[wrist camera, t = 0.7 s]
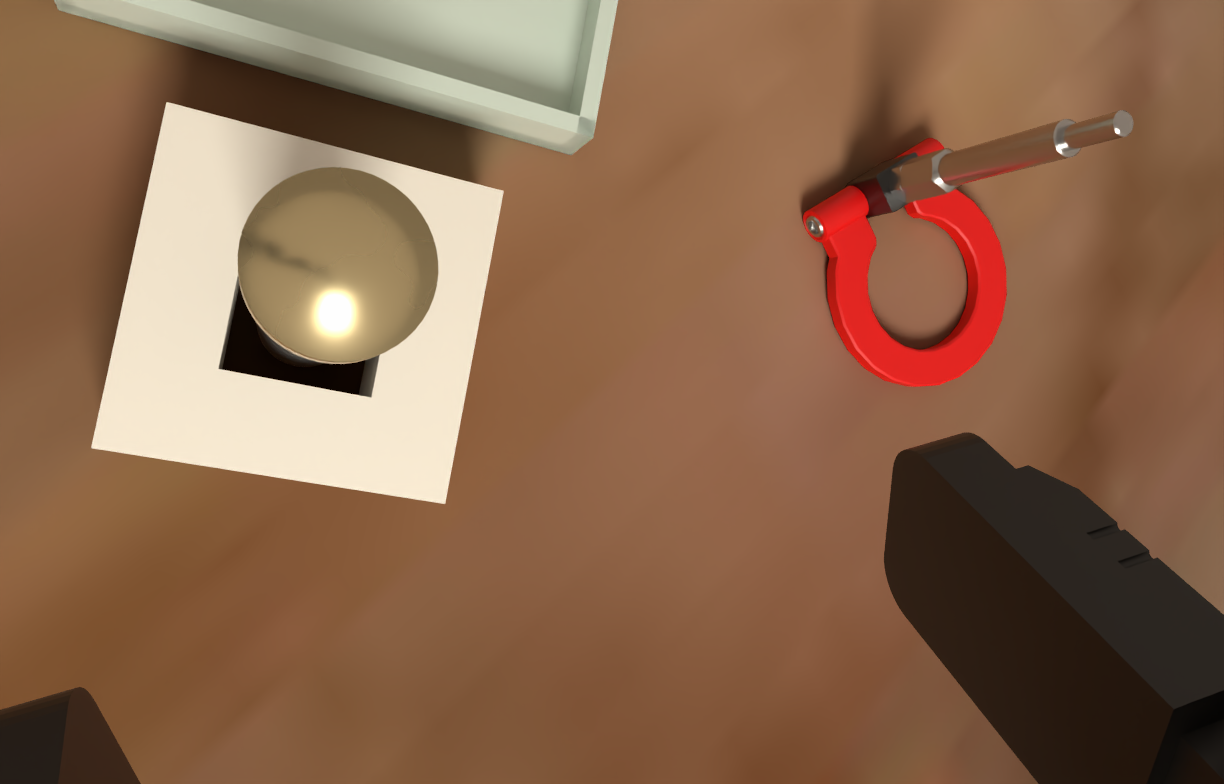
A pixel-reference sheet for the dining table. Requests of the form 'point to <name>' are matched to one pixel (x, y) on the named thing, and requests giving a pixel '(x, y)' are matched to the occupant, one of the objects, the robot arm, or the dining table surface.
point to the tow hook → (932, 195)
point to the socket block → (204, 307)
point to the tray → (410, 53)
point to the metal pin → (336, 267)
